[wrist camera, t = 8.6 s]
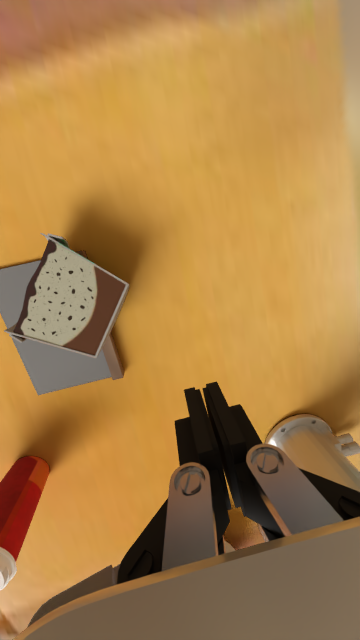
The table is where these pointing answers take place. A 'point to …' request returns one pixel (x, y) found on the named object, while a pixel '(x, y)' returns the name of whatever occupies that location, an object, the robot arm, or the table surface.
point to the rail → (110, 350)
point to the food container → (69, 302)
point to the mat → (41, 359)
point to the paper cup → (18, 509)
